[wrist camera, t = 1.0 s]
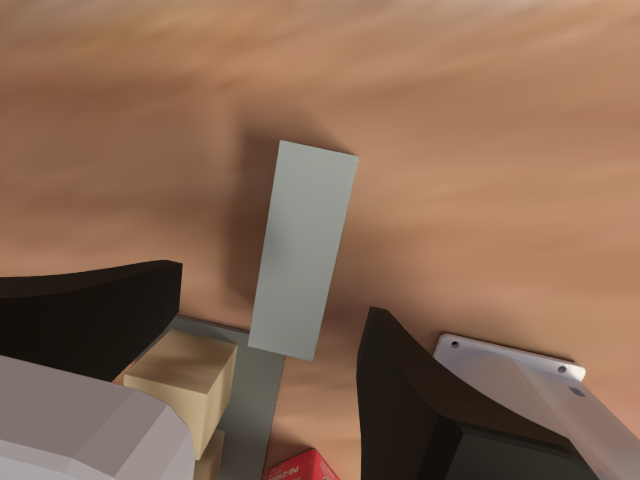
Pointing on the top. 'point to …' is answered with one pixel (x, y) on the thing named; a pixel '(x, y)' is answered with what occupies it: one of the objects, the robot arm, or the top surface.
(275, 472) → the ink box
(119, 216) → the top surface
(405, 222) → the top surface
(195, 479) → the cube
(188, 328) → the mat
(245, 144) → the top surface
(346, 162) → the lintel
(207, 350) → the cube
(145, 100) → the top surface
